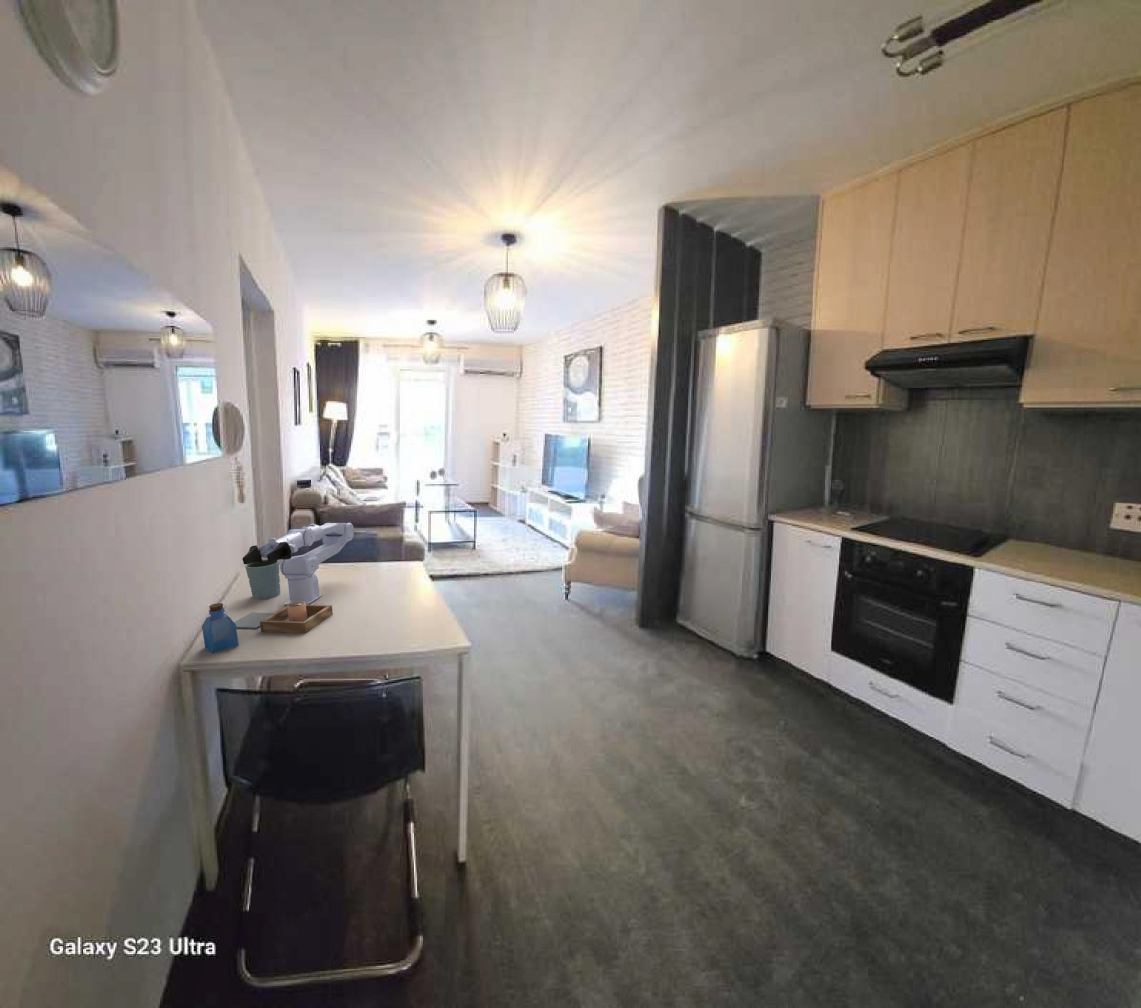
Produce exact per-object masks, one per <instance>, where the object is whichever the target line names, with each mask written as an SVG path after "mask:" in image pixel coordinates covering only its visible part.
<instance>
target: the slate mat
mask: <svg viewBox="0 0 1141 1008" xmlns="http://www.w3.org/2000/svg"><path fill="white" fill-rule="evenodd" d="M274 613H275V612H256V611H255V612H250V613H249V614H246V615H244V616H242V617H240V618H239V619H237V620H235V621H233V622H234V623H235V624H236V629H242V630H243V629H246V630H247V629H248V630H250V629H251V630H257V629H259V628H261V627H260V621H262V620H264V619H266V618H267V617H269V616H271V615H273V614H274Z"/></svg>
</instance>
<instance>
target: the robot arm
mask: <svg viewBox="0 0 1141 1008" xmlns="http://www.w3.org/2000/svg"><path fill="white" fill-rule="evenodd" d="M354 534H355V527H354V525H353V524H352V522H347V523H346V522H325V523H324V524H322V525H319V524H316V523H310V524H309V526H302V527H301V528H299V529H298V528H293V529H289V530H288V532H287V534H286V535H283V536H282V537H280V538H276V537H271V538H269V539H268V542H267V543H265V544H263V545H261V546H260V547H258V544H257V545H255V544H254V545H252V546H250V547H249V550H248V552H246V554H245V555H244V556H243V557H242V559H241V560H242V562H243V564H244V565H246V564H251V563H261V562H263V561H262V560H263V558H264V559H268V562H271V561H276V560H281V562H280V563H279V572H280V573H281V574H282V576H284V579H287V584H288V596H289V600H288V601H287V602H285V603H283V604H284V606H287V605H288V604H289V603H292V602H296V601H304V602H306V605H310V604H312V603H313V602H314V601H316V600H318V599H319V598H322V596H323V595H322V594H320V586H319V585H320V584H319V579H318V576H317V575H316V574H315V573H316V571H317V570H318V569H319V568H320V567H319V566H320V564H321V563H323V562H325V561H326V560H328V559H329V558H331V557H333V556H335V555H337V554H338V553H340V551H341V550H342V549H343V548H344V547H345V545H346V544H347V543H349V542H350V541H352V540H353V537H354ZM320 540H322V545H319V546H317V547H315V548H313V549H312V550H310V551H308V552H306V553H304V554H301V555H294V556H292V553H293V554H294V553H297V552H298V551H299V549H301V548H302V547H311V546H312V545H313V544H314V543H315V542H317V541H318V542H319V541H320Z"/></svg>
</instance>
